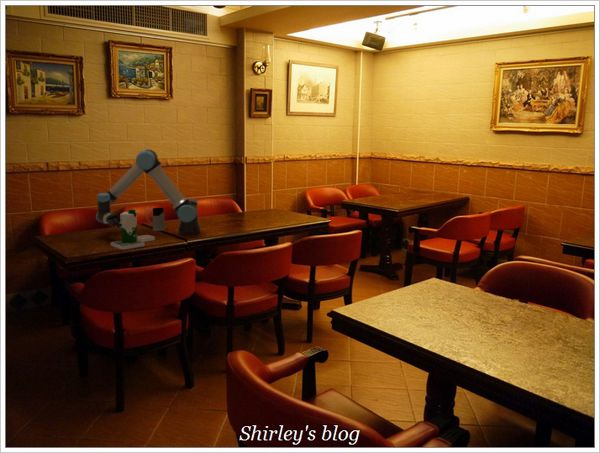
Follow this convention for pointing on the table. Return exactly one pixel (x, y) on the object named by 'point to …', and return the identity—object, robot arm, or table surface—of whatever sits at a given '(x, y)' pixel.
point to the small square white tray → (145, 238)
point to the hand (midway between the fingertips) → (129, 225)
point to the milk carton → (129, 226)
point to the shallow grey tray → (127, 245)
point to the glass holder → (158, 219)
